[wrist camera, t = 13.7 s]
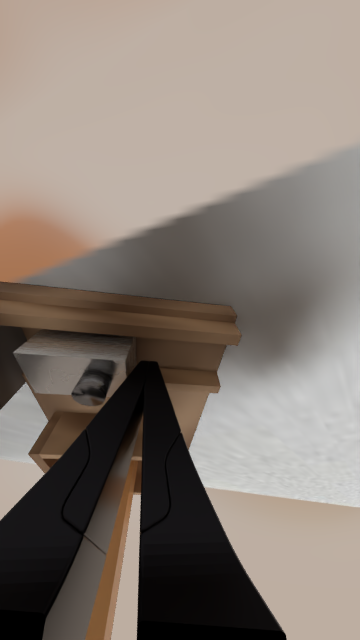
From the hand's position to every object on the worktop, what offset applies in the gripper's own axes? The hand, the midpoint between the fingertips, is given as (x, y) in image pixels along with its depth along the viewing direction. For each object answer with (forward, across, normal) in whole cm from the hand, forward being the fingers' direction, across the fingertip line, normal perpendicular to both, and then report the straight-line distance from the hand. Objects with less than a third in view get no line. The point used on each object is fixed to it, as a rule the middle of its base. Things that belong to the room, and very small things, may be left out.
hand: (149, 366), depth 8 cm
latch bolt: (+1, +3, 0) cm, 3 cm away
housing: (+2, +2, +7) cm, 7 cm away
